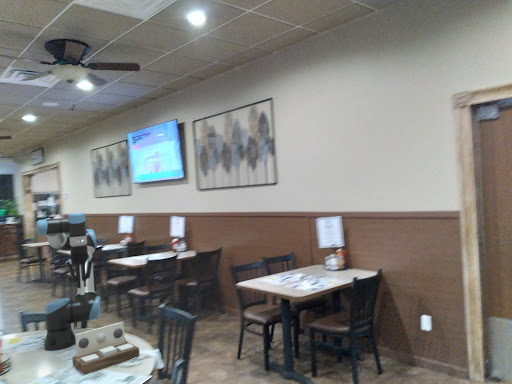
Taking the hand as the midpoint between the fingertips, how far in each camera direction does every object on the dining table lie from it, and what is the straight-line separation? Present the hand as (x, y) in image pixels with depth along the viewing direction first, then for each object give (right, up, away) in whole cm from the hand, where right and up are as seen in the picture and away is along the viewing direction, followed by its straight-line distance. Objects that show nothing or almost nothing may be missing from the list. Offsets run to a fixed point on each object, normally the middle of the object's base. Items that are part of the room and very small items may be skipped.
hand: (82, 294), depth 196 cm
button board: (+15, -28, -9) cm, 33 cm away
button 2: (+23, -26, -6) cm, 35 cm away
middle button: (+16, -25, -11) cm, 32 cm away
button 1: (+11, -26, -16) cm, 33 cm away
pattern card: (+11, -25, -5) cm, 27 cm away
